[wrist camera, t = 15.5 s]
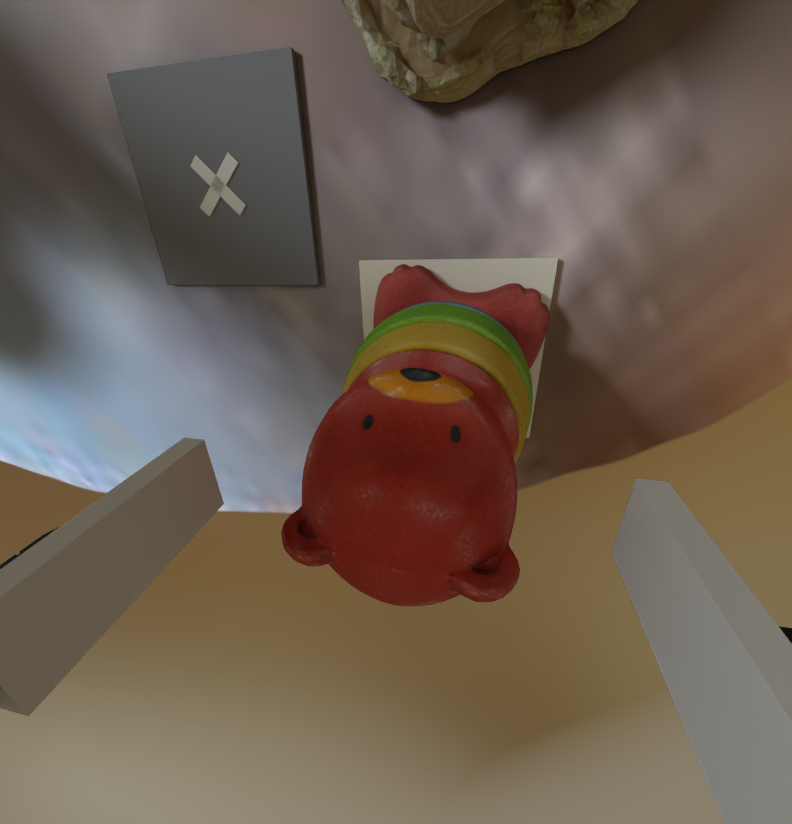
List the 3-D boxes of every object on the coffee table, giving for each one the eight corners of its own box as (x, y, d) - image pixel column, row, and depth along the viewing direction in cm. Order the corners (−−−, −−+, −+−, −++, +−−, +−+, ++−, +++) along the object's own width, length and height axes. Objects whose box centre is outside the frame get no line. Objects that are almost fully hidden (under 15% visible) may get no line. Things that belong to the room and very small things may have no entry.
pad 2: (370, 422, 29) (369, 425, 28) (360, 260, 23) (358, 260, 23) (528, 435, 26) (529, 438, 26) (557, 257, 21) (558, 258, 21)
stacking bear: (558, 290, 21) (749, 451, 6) (507, 434, 26) (538, 732, 11) (383, 257, 23) (156, 316, 7) (365, 399, 27) (208, 619, 12)
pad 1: (171, 284, 27) (166, 285, 27) (112, 76, 22) (105, 73, 21) (320, 284, 25) (317, 285, 24) (294, 50, 19) (290, 46, 19)
